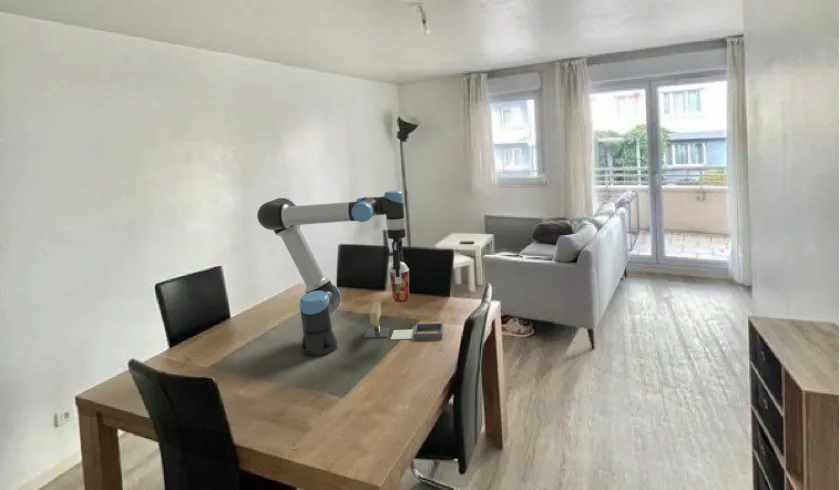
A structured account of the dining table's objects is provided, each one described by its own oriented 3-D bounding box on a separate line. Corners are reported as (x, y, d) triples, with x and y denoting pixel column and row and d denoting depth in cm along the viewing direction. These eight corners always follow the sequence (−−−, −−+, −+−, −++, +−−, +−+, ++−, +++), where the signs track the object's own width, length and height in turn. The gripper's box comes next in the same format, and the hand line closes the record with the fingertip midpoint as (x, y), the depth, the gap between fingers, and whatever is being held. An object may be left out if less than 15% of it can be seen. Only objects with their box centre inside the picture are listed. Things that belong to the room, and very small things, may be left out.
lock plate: (364, 338, 215) (364, 336, 215) (368, 329, 225) (368, 328, 225) (387, 337, 214) (386, 336, 214) (390, 328, 224) (390, 327, 224)
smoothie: (412, 297, 217) (409, 252, 212) (409, 303, 208) (406, 257, 204) (393, 297, 217) (389, 253, 213) (390, 304, 209) (386, 257, 205)
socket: (414, 339, 210) (413, 334, 210) (416, 329, 222) (416, 323, 222) (442, 338, 209) (442, 333, 209) (443, 328, 221) (443, 322, 220)
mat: (390, 339, 212) (390, 338, 212) (393, 330, 221) (393, 330, 221) (414, 339, 211) (414, 338, 211) (416, 330, 221) (416, 329, 220)
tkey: (378, 337, 212) (376, 312, 210) (371, 337, 212) (369, 313, 210) (382, 324, 227) (380, 301, 224) (375, 324, 227) (373, 301, 225)
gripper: (402, 232, 196) (405, 287, 200) (407, 223, 216) (411, 273, 221) (383, 233, 196) (387, 288, 201) (390, 224, 217) (394, 274, 222)
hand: (399, 280), depth 211 cm, fingers closed on smoothie, 8 cm apart
